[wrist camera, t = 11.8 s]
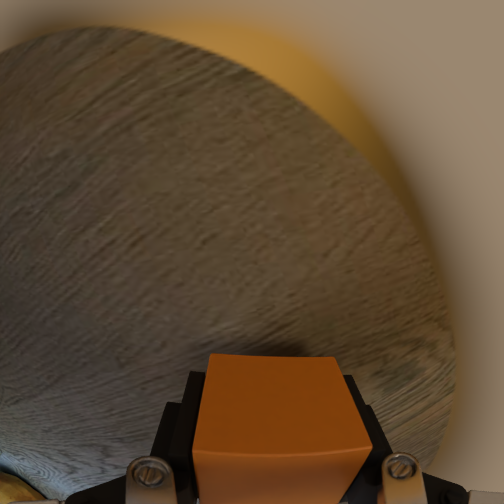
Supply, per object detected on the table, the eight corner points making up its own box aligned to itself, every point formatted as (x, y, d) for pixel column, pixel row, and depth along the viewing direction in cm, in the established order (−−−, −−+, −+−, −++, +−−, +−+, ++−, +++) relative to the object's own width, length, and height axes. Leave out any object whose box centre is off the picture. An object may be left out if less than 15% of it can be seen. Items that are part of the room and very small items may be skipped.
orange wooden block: (210, 351, 10) (191, 451, 5) (334, 355, 10) (374, 446, 6) (211, 432, 11) (201, 516, 6) (312, 433, 11) (330, 514, 7)
